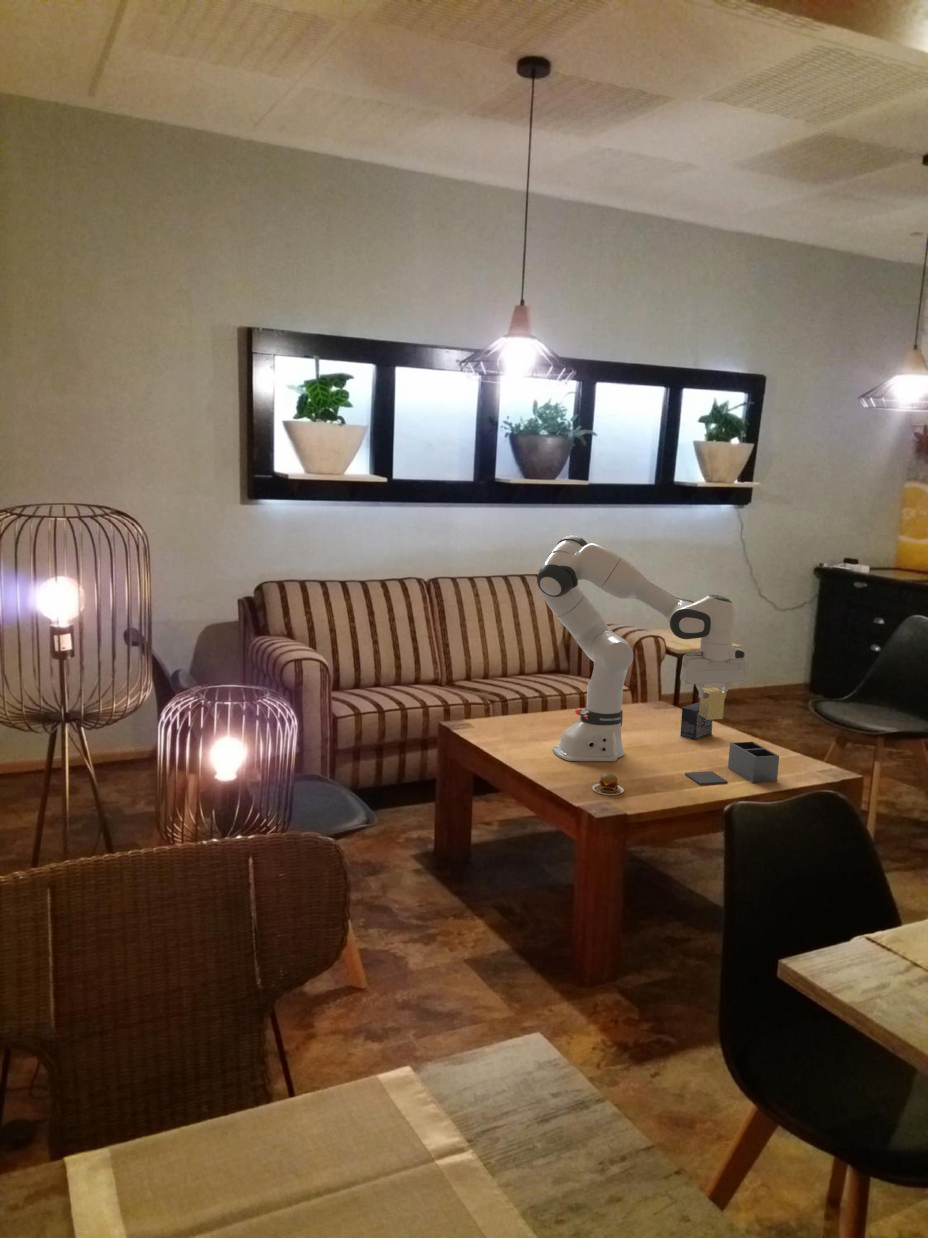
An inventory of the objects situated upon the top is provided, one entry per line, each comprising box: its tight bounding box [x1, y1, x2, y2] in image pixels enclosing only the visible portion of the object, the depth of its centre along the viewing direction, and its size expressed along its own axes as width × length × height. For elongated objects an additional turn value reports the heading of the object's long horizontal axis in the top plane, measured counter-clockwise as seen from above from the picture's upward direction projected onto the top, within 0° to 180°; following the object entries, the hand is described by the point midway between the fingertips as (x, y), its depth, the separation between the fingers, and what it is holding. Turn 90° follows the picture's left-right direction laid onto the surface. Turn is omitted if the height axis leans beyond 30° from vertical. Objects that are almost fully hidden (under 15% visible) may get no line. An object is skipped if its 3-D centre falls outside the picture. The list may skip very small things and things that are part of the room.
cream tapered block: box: [699, 687, 726, 720], centre depth 277 cm, size 5×5×8 cm
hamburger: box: [591, 773, 625, 796], centre depth 268 cm, size 12×12×6 cm
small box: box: [680, 701, 713, 741], centre depth 324 cm, size 11×6×10 cm, turn 134°
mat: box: [684, 770, 728, 786], centre depth 281 cm, size 9×9×1 cm
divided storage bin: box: [727, 741, 780, 784], centre depth 285 cm, size 8×14×8 cm, turn 15°
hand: (712, 697), depth 277 cm, fingers closed on cream tapered block, 5 cm apart
